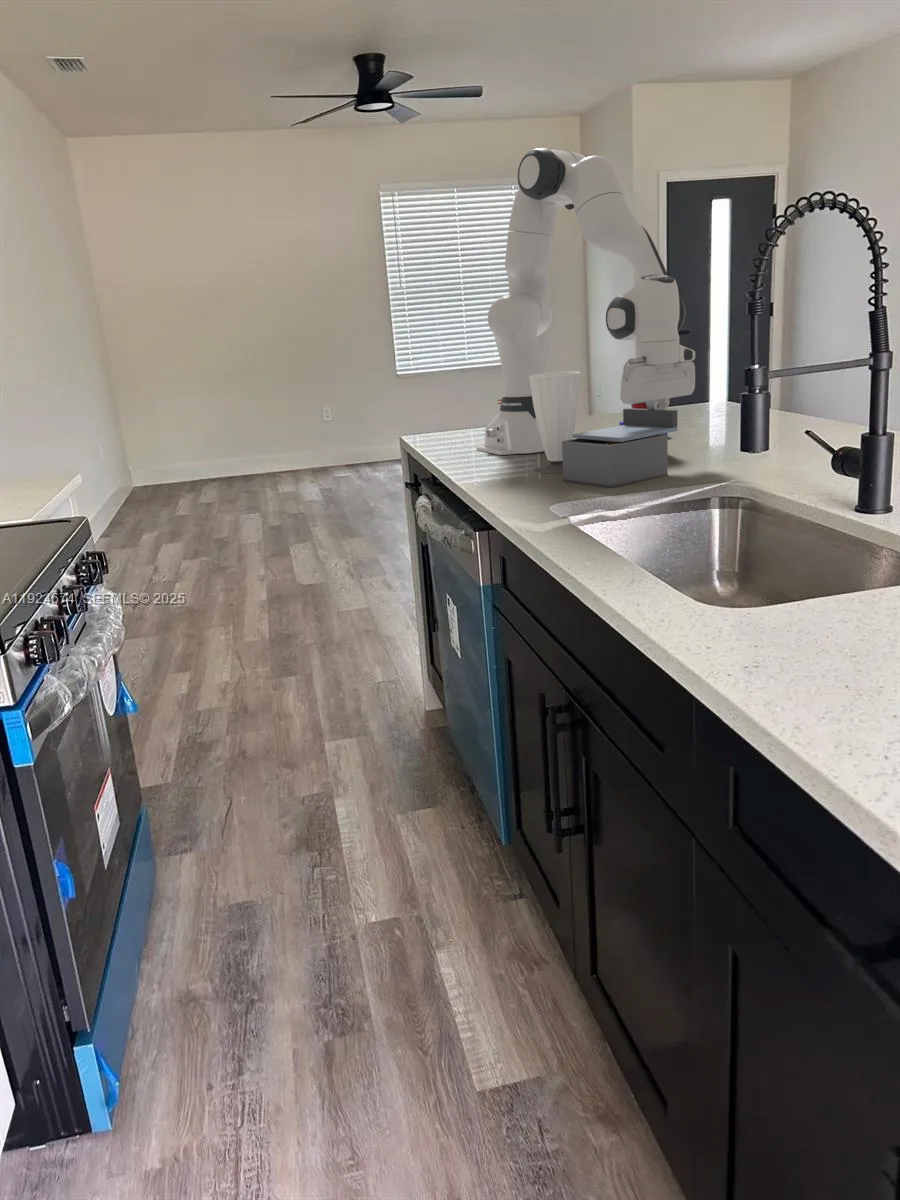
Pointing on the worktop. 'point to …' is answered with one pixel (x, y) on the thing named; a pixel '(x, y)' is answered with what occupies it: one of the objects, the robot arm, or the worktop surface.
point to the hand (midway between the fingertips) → (658, 420)
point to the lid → (636, 425)
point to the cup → (555, 413)
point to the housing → (614, 460)
